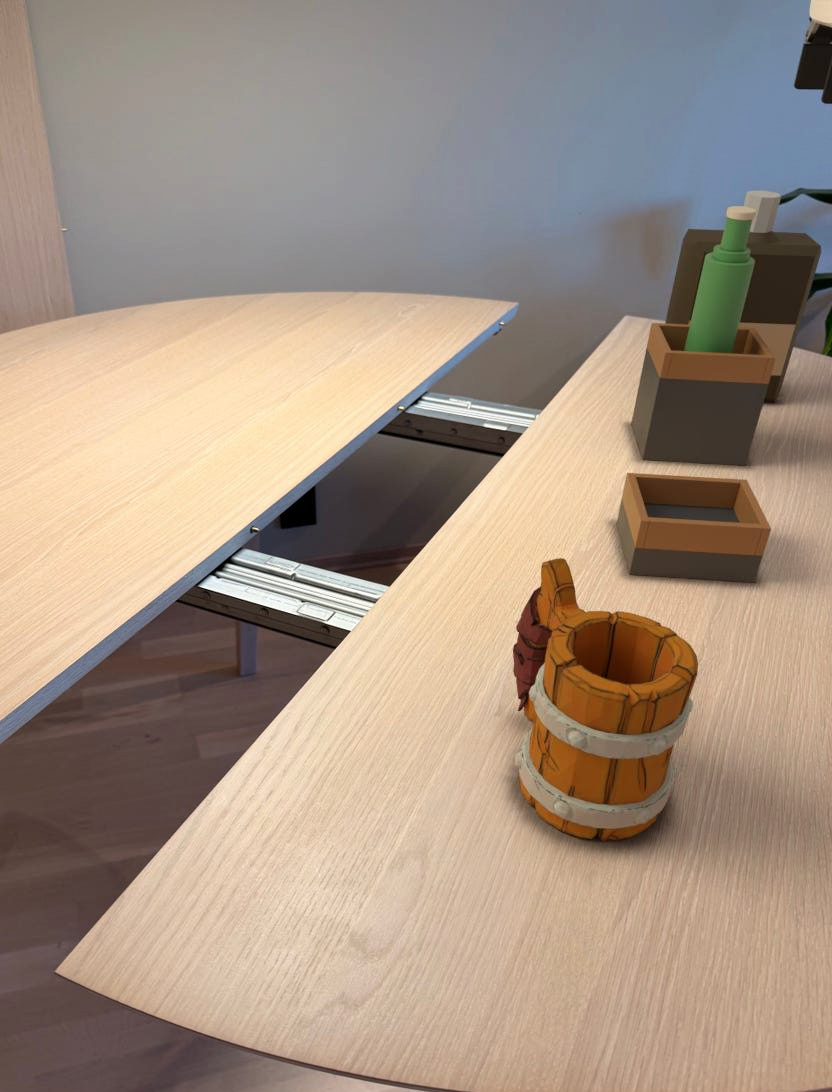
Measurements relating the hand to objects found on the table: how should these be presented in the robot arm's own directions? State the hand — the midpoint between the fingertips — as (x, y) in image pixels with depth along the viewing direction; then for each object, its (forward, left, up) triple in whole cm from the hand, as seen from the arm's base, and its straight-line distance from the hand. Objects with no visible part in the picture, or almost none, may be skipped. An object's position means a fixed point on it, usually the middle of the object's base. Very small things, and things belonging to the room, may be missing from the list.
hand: (823, 96), depth 96 cm
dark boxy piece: (-2, -19, -38) cm, 42 cm away
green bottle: (+5, -1, -28) cm, 28 cm away
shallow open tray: (+10, +25, -38) cm, 47 cm away
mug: (+24, +58, -38) cm, 74 cm away
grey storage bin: (+5, -1, -38) cm, 38 cm away
